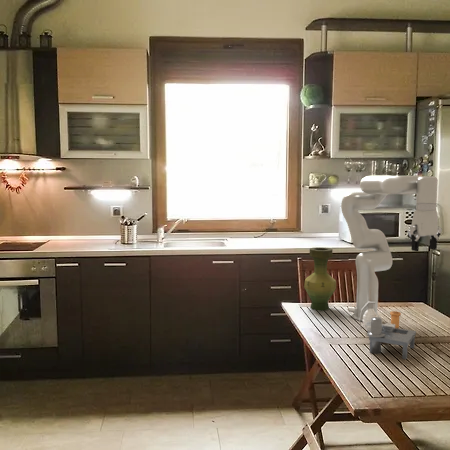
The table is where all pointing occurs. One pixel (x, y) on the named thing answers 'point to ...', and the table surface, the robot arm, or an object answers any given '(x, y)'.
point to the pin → (395, 318)
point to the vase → (320, 280)
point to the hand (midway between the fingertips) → (424, 249)
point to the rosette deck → (389, 336)
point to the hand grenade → (368, 315)
